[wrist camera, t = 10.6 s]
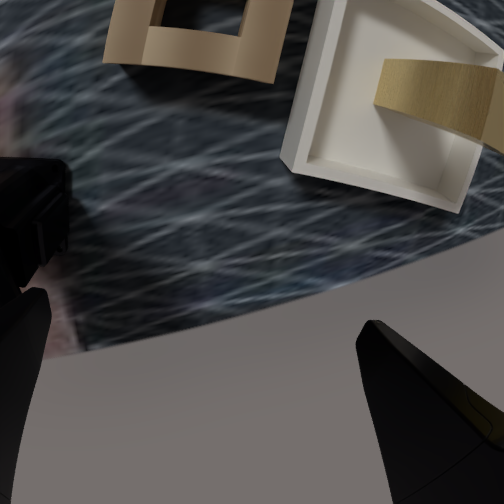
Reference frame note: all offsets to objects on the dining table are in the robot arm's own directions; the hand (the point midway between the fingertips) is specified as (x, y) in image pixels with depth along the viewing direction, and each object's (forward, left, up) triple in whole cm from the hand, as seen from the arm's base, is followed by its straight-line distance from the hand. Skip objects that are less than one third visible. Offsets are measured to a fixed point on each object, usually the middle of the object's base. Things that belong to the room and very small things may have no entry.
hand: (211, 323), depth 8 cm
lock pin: (+10, +8, -11) cm, 17 cm away
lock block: (-2, +10, -12) cm, 16 cm away
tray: (+10, +8, -12) cm, 18 cm away
